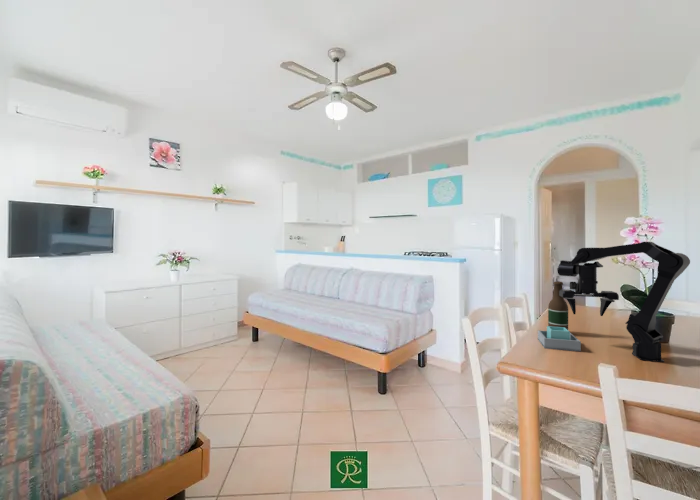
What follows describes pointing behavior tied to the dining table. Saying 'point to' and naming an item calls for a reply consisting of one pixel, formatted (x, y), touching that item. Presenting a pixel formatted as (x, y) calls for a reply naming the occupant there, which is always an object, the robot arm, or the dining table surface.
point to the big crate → (559, 342)
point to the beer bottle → (558, 309)
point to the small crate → (558, 333)
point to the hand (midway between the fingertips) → (587, 315)
